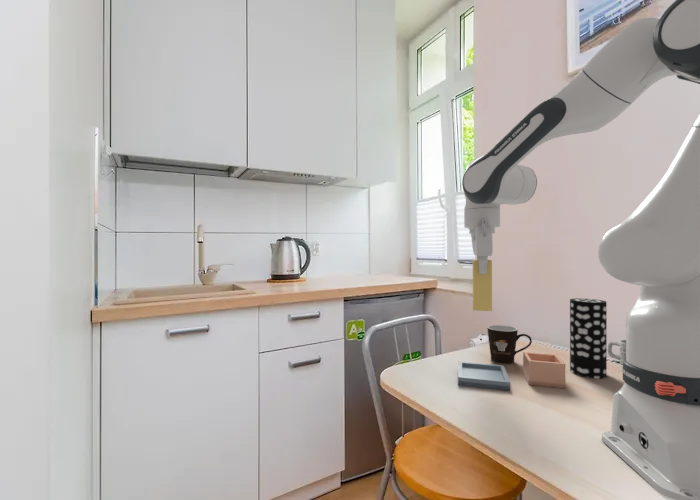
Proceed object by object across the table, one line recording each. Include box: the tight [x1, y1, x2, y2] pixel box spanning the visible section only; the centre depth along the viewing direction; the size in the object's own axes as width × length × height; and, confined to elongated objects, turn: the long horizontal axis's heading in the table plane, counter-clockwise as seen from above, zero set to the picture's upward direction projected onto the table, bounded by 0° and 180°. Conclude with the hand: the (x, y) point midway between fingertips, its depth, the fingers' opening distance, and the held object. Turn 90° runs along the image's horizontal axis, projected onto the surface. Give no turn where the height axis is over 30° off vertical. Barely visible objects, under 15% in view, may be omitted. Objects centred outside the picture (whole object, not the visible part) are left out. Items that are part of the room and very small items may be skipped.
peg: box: [472, 259, 493, 312], centre depth 92 cm, size 4×4×13 cm
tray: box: [457, 361, 511, 392], centre depth 93 cm, size 13×12×2 cm
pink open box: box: [522, 351, 566, 389], centre depth 91 cm, size 8×8×6 cm
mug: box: [607, 339, 626, 366], centre depth 105 cm, size 10×7×7 cm, turn 32°
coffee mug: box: [486, 324, 533, 365], centre depth 106 cm, size 12×9×10 cm
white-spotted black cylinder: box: [569, 297, 608, 379], centre depth 96 cm, size 8×8×20 cm
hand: (482, 273), depth 92 cm, fingers closed on peg, 4 cm apart
